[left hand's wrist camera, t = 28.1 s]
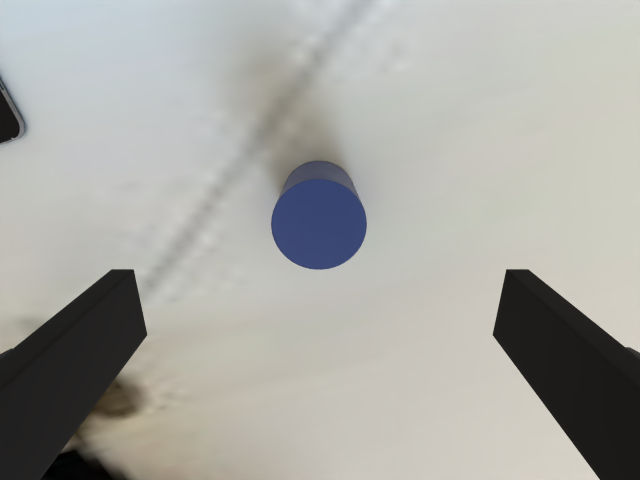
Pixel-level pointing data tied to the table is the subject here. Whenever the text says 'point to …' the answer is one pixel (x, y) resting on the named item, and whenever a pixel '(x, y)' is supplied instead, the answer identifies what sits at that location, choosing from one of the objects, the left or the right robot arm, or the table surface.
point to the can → (319, 217)
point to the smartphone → (9, 118)
